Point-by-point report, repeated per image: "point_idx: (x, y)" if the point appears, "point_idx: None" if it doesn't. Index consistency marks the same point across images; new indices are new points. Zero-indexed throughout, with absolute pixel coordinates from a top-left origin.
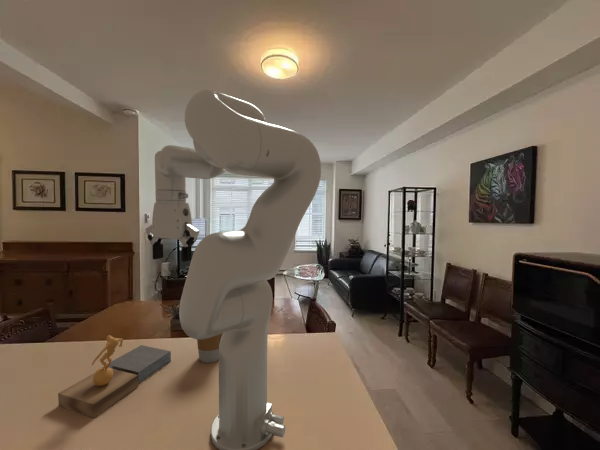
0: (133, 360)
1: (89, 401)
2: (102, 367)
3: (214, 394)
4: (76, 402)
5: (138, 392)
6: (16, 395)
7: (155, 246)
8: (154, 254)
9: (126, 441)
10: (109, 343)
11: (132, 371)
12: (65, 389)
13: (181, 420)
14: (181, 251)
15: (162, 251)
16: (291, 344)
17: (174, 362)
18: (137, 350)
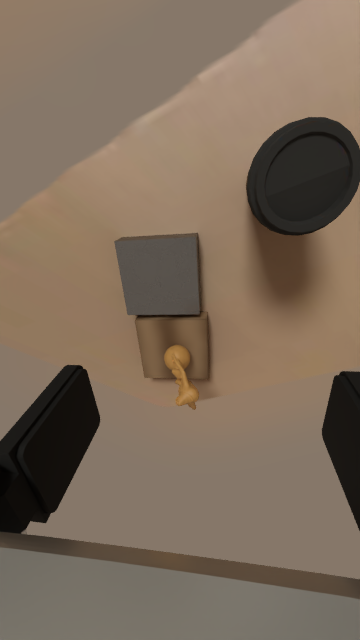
0: (157, 291)
1: (198, 377)
2: (172, 364)
3: (347, 286)
4: None
5: (219, 320)
6: None
7: (55, 505)
8: (83, 447)
9: (278, 380)
10: (192, 403)
11: (186, 313)
12: (144, 371)
13: (323, 343)
14: (353, 510)
15: (62, 403)
16: None
17: (208, 233)
18: (129, 261)
